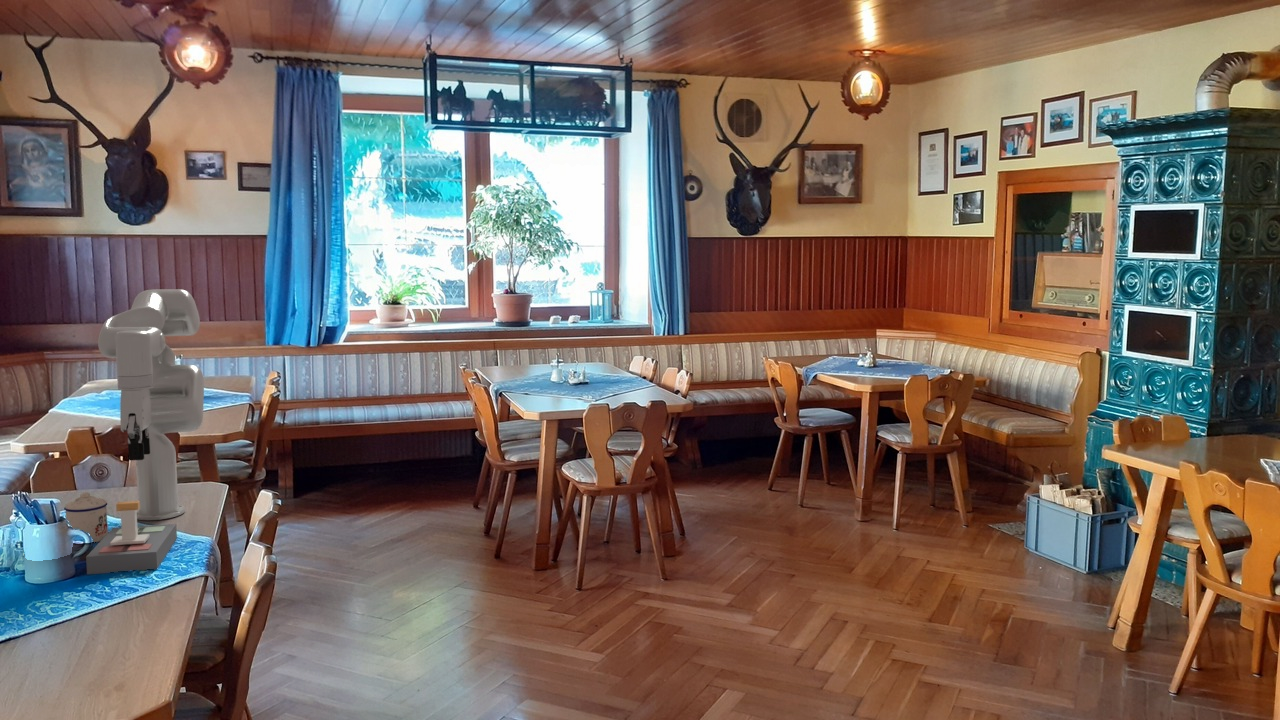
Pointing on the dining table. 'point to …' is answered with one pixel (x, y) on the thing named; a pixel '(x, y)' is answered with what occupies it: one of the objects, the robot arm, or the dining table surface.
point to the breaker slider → (129, 524)
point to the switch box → (132, 550)
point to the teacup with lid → (88, 515)
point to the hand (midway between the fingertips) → (139, 456)
